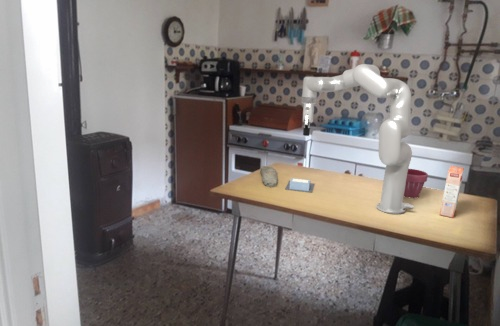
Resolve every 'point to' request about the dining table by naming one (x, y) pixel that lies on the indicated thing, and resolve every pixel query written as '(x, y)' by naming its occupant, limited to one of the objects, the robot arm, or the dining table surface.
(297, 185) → the pale blue upright box
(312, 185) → the mat
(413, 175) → the plant pot
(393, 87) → the robot arm
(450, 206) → the cracker box
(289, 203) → the dining table surface
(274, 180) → the elongated rough stone
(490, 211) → the dining table surface
